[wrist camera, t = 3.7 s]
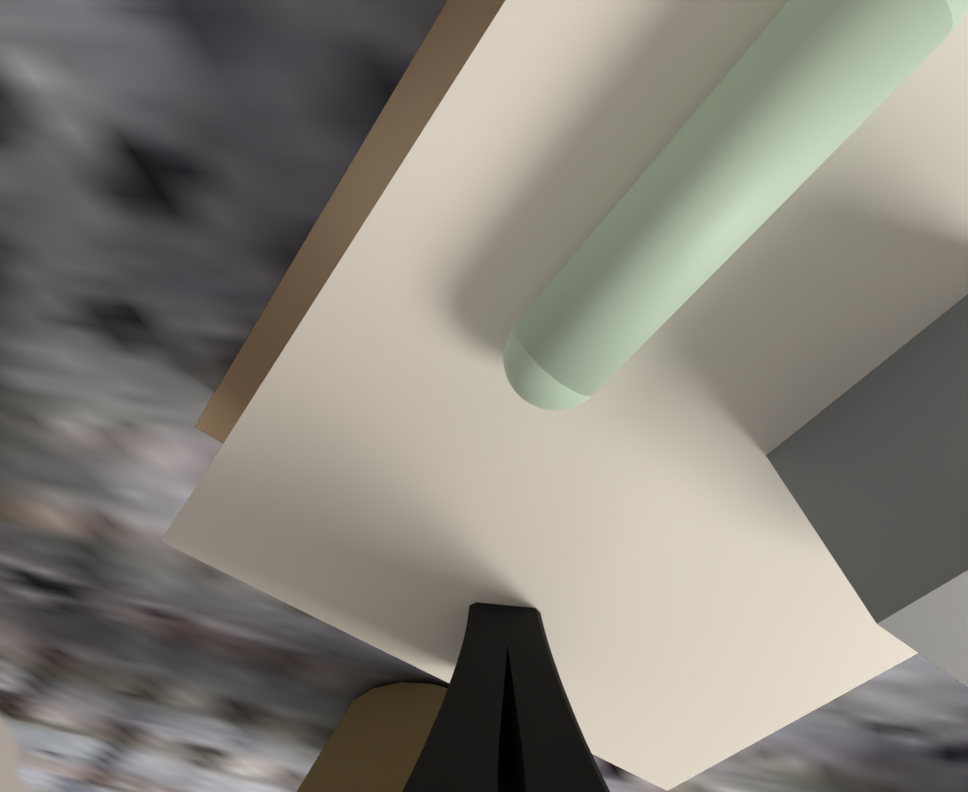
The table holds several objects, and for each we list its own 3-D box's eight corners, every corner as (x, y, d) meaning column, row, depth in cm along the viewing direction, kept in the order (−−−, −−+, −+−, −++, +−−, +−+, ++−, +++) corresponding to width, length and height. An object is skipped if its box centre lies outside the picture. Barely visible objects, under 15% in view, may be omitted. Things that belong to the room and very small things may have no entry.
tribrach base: (1478, 13, 11) (1933, -11, 7) (627, 633, 20) (652, 751, 16) (1028, -946, 6) (1592, -2037, 3) (220, 397, 16) (140, 488, 12)
